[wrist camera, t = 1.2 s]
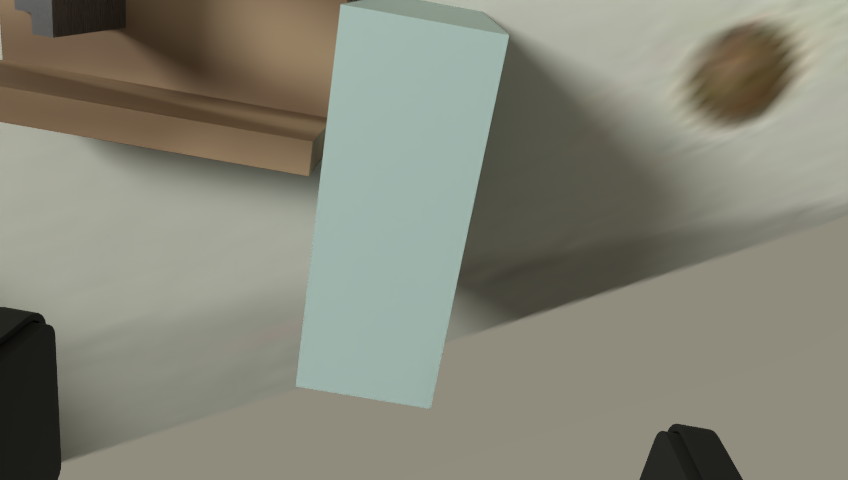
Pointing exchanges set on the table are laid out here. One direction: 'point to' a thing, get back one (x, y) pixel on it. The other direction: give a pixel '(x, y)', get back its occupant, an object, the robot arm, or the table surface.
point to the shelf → (183, 79)
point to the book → (396, 194)
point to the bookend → (73, 16)
